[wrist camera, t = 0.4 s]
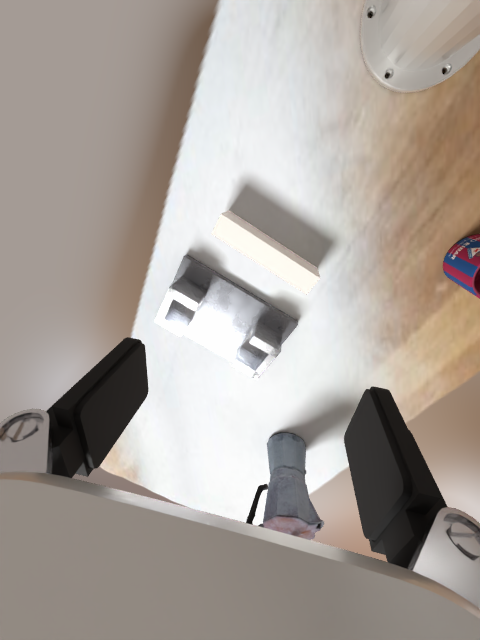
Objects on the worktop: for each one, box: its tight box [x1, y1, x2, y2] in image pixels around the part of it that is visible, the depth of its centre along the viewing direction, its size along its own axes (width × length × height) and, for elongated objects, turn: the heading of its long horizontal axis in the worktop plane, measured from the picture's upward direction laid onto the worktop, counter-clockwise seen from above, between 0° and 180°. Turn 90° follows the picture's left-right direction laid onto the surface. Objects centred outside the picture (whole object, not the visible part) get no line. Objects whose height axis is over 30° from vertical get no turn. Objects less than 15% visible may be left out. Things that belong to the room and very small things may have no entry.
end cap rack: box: [155, 255, 298, 380], centre depth 44 cm, size 14×22×6 cm, turn 61°
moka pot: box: [246, 433, 324, 540], centre depth 52 cm, size 10×15×20 cm, turn 125°
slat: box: [211, 210, 320, 295], centre depth 38 cm, size 3×16×5 cm, turn 60°
